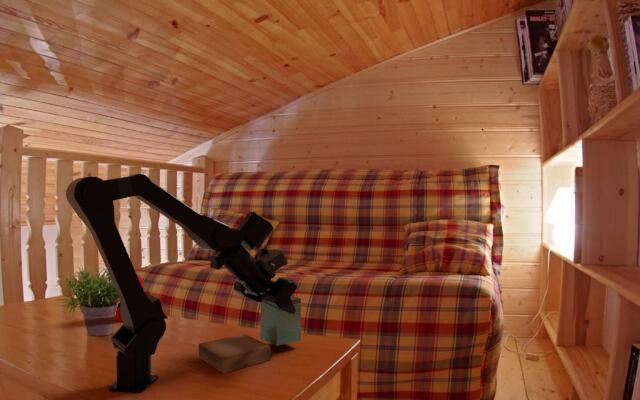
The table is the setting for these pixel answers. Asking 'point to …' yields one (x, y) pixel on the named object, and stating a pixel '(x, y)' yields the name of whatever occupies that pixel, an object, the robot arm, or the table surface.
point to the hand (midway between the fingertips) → (285, 309)
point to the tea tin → (280, 323)
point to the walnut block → (234, 352)
